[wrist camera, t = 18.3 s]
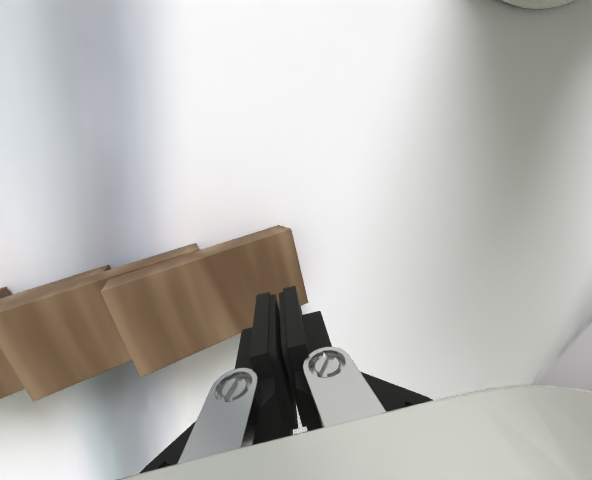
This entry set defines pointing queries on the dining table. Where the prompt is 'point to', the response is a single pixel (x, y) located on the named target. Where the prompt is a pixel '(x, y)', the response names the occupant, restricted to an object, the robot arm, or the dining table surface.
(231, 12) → the dining table surface
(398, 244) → the dining table surface
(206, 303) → the walnut domino
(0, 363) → the walnut domino
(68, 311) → the walnut domino
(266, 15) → the dining table surface
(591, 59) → the dining table surface
